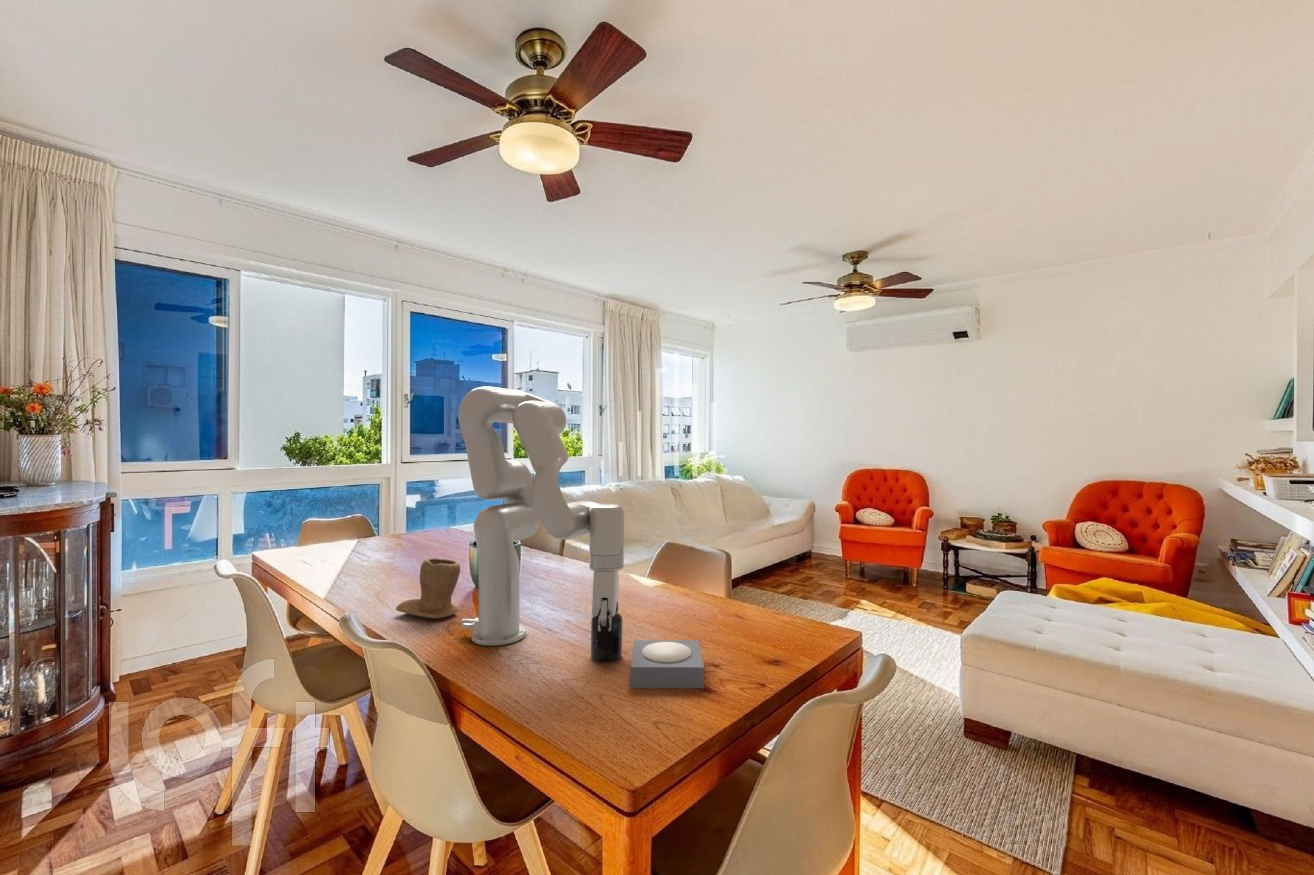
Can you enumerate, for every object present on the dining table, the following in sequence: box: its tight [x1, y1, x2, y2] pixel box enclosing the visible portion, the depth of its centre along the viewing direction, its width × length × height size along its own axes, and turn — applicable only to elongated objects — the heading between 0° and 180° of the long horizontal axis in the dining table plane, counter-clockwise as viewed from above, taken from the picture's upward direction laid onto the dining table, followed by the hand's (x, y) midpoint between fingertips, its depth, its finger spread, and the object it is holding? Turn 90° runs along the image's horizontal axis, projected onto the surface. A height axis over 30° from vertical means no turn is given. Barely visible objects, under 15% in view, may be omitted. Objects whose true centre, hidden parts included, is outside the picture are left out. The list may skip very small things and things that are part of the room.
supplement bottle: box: [590, 601, 623, 663], centre depth 119 cm, size 7×7×12 cm
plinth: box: [630, 639, 705, 689], centre depth 111 cm, size 14×14×4 cm
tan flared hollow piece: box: [395, 557, 461, 619], centre depth 148 cm, size 15×12×15 cm
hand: (606, 641), depth 119 cm, fingers closed on supplement bottle, 6 cm apart
